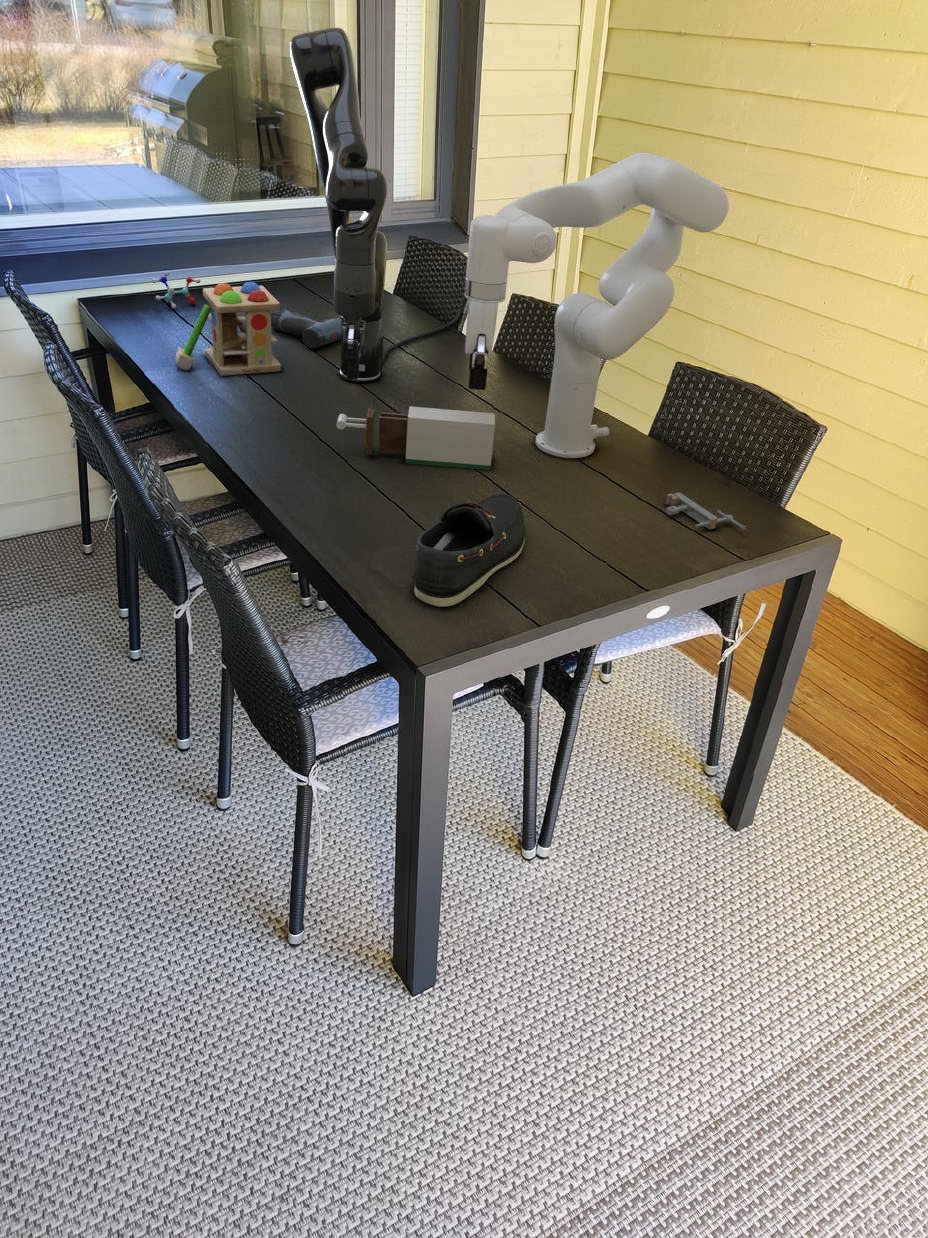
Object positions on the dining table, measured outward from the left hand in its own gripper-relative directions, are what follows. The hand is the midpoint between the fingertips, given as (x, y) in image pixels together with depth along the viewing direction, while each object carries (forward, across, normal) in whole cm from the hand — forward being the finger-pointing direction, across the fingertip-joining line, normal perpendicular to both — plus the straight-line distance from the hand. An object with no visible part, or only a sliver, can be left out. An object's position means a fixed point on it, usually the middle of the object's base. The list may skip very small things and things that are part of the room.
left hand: (352, 377), depth 188 cm
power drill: (+16, -69, -18) cm, 73 cm away
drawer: (+15, 0, +8) cm, 17 cm away
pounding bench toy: (+16, -42, -34) cm, 56 cm away
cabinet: (+16, 0, +20) cm, 25 cm away
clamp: (+16, +17, +67) cm, 71 cm away
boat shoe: (+16, +39, +24) cm, 48 cm away
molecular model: (+16, -84, -57) cm, 102 cm away
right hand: (-2, 0, +24) cm, 24 cm away
